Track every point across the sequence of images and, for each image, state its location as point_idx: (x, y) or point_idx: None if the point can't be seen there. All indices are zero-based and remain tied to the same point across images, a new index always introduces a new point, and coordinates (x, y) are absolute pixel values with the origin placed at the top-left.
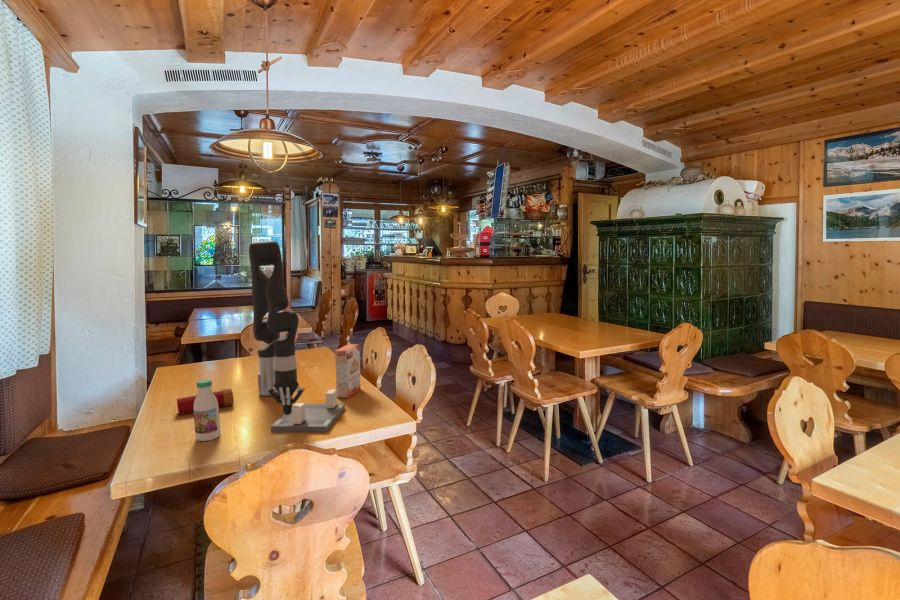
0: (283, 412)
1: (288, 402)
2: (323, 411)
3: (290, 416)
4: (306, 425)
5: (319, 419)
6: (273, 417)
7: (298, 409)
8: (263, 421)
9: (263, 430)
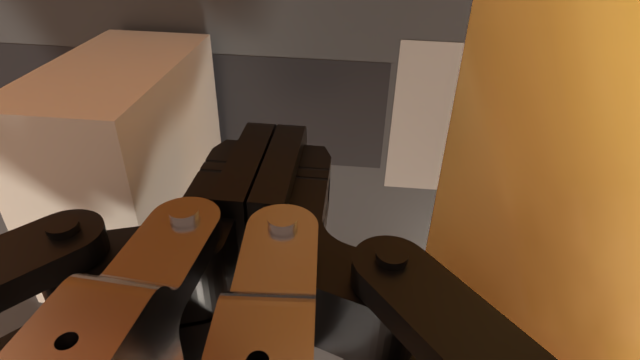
0: (327, 151)
1: (172, 229)
2: None
3: None
4: (38, 3)
5: None
6: (516, 305)
7: (8, 100)
8: (594, 239)
9: (562, 20)
